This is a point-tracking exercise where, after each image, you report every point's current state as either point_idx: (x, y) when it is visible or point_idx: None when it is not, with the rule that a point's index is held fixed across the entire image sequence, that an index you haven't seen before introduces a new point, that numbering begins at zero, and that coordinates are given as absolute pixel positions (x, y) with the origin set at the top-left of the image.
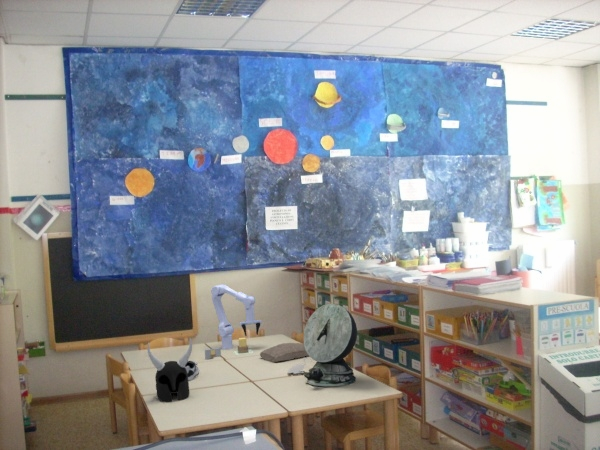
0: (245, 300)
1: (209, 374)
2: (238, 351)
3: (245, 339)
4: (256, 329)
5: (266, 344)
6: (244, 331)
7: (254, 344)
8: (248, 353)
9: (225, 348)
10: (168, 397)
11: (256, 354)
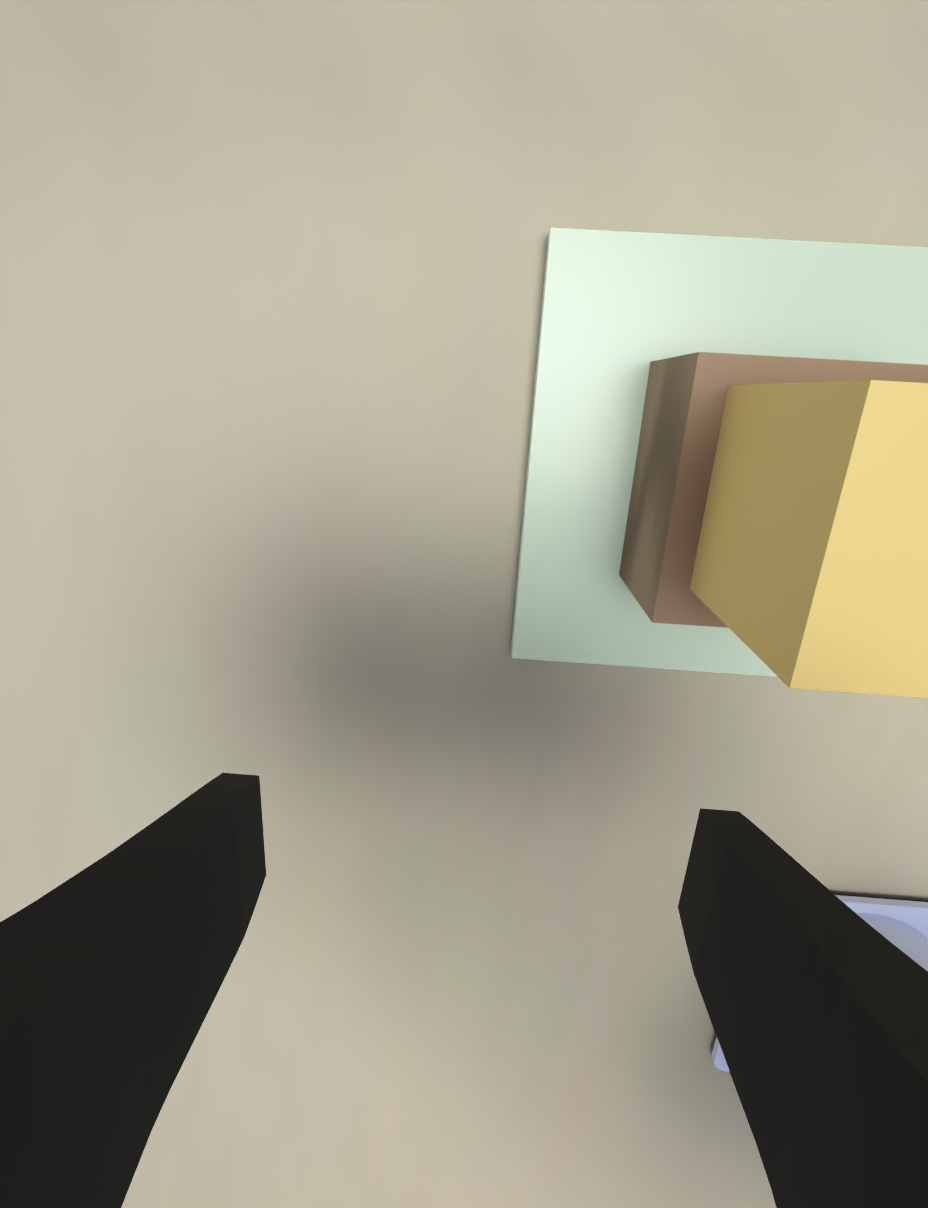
0: None
1: None
2: None
3: (888, 382)
4: (149, 1053)
5: None
6: (925, 975)
7: (349, 1027)
8: (683, 238)
9: (922, 940)
10: None
11: (496, 155)
